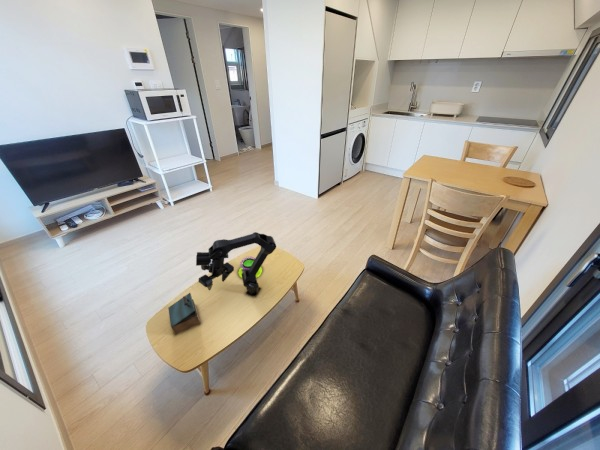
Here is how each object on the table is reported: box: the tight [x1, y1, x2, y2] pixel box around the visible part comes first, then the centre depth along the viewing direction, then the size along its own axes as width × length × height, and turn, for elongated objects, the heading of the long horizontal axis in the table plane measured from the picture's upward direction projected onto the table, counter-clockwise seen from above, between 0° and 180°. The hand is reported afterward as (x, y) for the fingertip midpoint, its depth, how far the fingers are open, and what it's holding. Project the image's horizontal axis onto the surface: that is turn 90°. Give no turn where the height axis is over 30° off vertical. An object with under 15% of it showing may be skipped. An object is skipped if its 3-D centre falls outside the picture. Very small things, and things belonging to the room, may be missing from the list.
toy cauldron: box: [238, 255, 263, 279], centre depth 151 cm, size 15×15×11 cm
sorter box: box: [171, 298, 201, 335], centre depth 123 cm, size 12×12×6 cm
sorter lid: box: [167, 292, 195, 328], centre depth 118 cm, size 13×12×4 cm
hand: (216, 285), depth 128 cm, fingers open, 9 cm apart
